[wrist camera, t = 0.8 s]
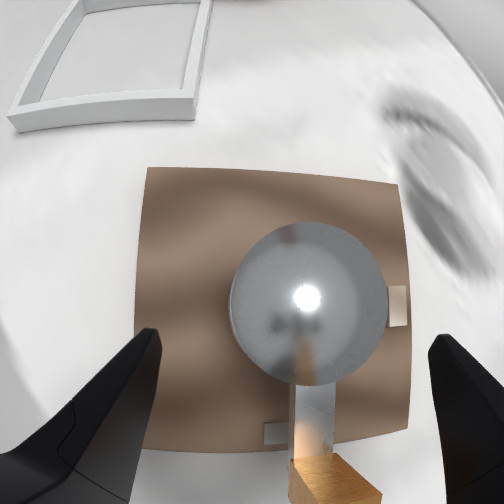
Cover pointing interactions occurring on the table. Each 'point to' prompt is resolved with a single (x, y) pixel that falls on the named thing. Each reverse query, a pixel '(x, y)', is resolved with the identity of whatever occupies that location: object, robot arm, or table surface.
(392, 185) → the base plate
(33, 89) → the tray frame
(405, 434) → the table surface
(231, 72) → the table surface
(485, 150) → the table surface
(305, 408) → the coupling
